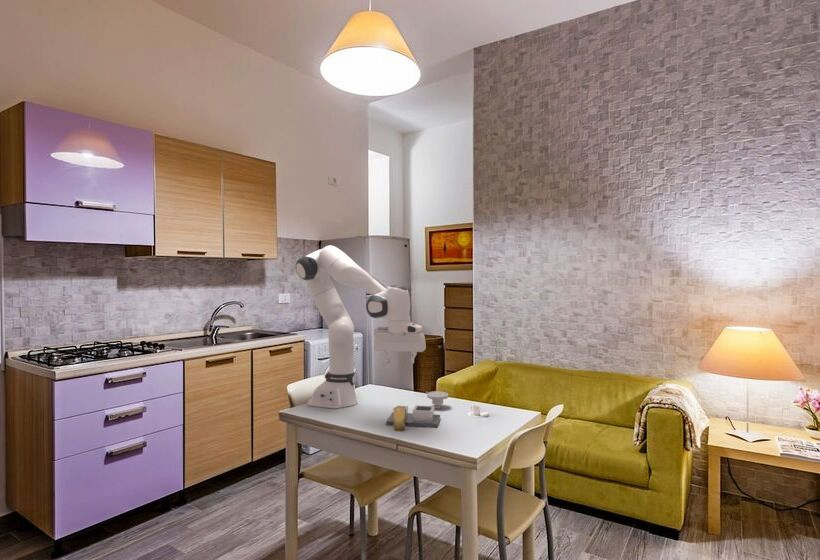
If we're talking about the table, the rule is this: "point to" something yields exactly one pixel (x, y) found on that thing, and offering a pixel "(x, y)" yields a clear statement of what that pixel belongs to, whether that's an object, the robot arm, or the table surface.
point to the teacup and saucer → (477, 411)
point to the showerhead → (437, 397)
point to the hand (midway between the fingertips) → (400, 362)
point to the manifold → (418, 417)
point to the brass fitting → (399, 419)
